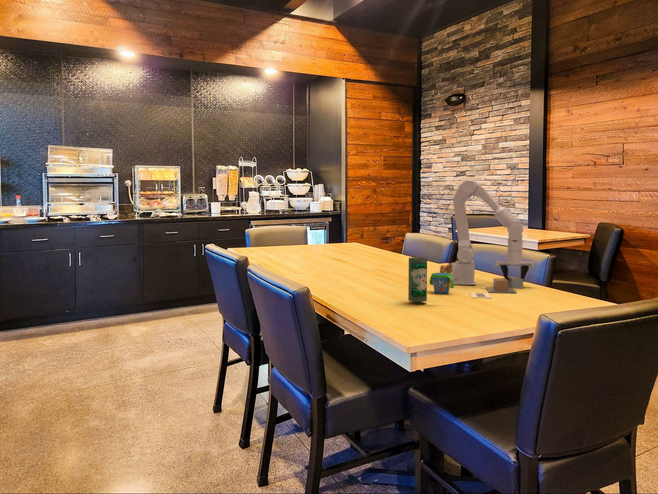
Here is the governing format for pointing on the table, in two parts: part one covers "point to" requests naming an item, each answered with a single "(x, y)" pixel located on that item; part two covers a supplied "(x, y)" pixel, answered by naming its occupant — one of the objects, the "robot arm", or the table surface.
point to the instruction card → (480, 295)
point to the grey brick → (515, 282)
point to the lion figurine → (446, 268)
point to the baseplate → (492, 290)
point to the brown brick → (500, 284)
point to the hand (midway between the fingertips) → (514, 283)
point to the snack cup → (441, 282)
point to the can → (417, 279)
